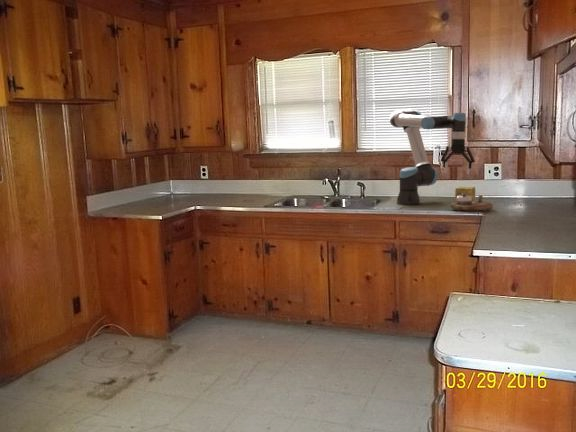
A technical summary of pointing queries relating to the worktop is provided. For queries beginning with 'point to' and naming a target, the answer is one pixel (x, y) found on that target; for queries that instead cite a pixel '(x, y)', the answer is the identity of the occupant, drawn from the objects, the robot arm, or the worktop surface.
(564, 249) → the worktop surface
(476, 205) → the turntable
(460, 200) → the cover
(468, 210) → the turntable base
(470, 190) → the cheese
